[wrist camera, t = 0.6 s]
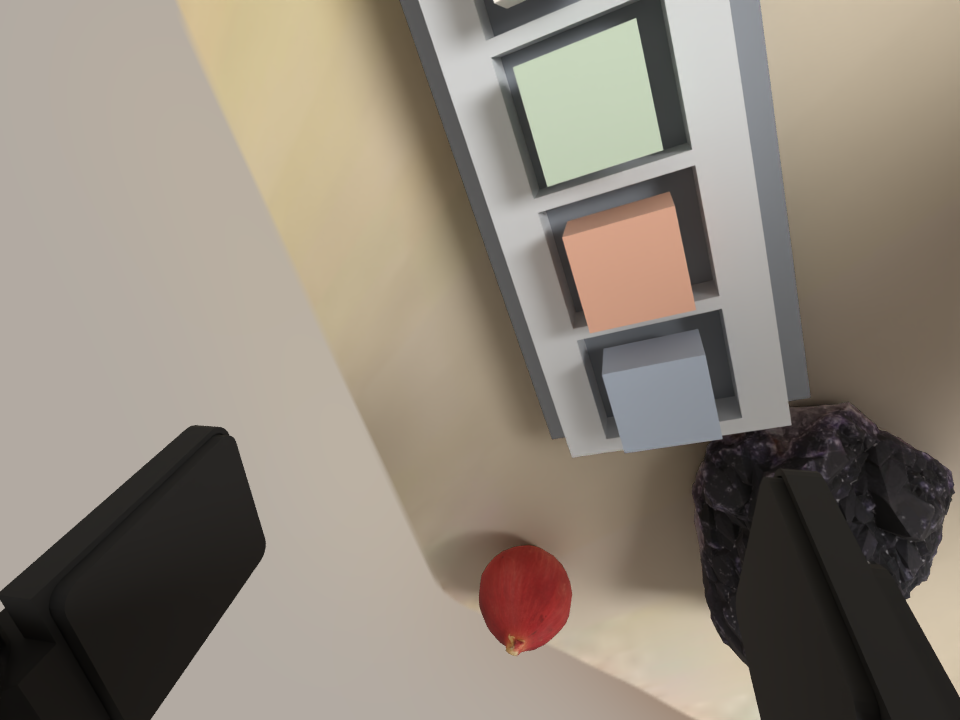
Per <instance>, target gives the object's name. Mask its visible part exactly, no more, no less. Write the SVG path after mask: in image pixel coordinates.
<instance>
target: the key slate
mask: <svg viewBox="0 0 960 720" xmlns="http://www.w3.org/2000/svg"><path fill="white" fill-rule="evenodd" d="M602 377H603V380H604V384H605V387H606V390H607V394H608V397H609V401H610V404H611V408H612V411H613V415H614V418H615V421H616V425H617V428H618V432H619V435H620V439H621V442H622V446H623V449H624V452H625V453H631V452H638V451H644V450H651V449H658V448H665V447H672V446H679V445H686V444H692V443H699V442H706V441H713V440H720V439H723V438H722V433H721V428H720V423H719V418H718V413H717V409H716V404H715V399H714V394H713V389H712V384H711V379H710V375H709V370H708V365H707V360H706V355H705V351H704V348H703V344H702V341H701V337H700V334H699V330H698V329H695V330H690V331H685V332H681V333H676V334H671V335H666V336H662V337H657V338H652V339H647V340H643V341H638V342H633V343H628V344H624V345H619V346H614V347H609V348H605V349H603V366H602Z"/></svg>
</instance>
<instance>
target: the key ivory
mask: <svg viewBox="0 0 960 720" xmlns="http://www.w3.org/2000/svg"><path fill="white" fill-rule="evenodd" d="M493 1H494V3H495V4H497V5H499V6H502V7H504V8H510V7H512V6H514V5H517V4H519V3H521V2H523V1H526V0H493Z"/></svg>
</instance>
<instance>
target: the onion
mask: <svg viewBox="0 0 960 720" xmlns="http://www.w3.org/2000/svg"><path fill="white" fill-rule="evenodd" d="M571 598H572V590H571V584H570V581H569V578H568V576H567V573H566V571H565V569H564V568H563V566H562V564H561V563H560V562H559V561H558V560H557V559H556V558H555V557H554V556H553V555H551V554H550V553H548V552H546V551H545V550H543V549H541V548H539V547H536V546H531V545H525V546H517V547H513V548H510V549H507V550H505V551H502V552H501V553H500V554H498V555H497V556H495V557H494V558H493V560H492V561H491V562H490V563H489V564H488V565H487V567H486V568H485V570H484V572H483V573H482V577H481V583H480V591H479V606H480V609H481V612H482V615H483V618H484V620H485V623H486V625H487V627H488V628H489V630H490V632H491V633H492V634H493V635H494V636H495V637H496V638H497V640H498V641H499V642H500V643H502V644H503V645H505V646H506V651H507V652H508V653H509V654H511V655H513V656H517V655H519V654H520V653H521V652H524V651H530V650H535V649H537V648H538V647H541V646H542V645H544V644H546V643H547V642H548V641H550V640H551V639H552V638H553V637H554V636H555V635H556V634H557V633H558V632H559V631H560V630H561V629H562V628H563V626H564V625H565V624H566V622H567V619H568V617H569V612H570V605H571Z"/></svg>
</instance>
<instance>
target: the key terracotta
mask: <svg viewBox="0 0 960 720" xmlns="http://www.w3.org/2000/svg"><path fill="white" fill-rule="evenodd" d="M562 239H563V242H564V246H565V249H566V253H567V256H568V260H569V263H570V266H571V270H572V273H573V277H574V280H575V284H576V287H577V291H578V294H579V297H580V301H581V304H582V308H583V311H584V315H585V318H586V322H587V325H588V328H589V332H590V333H595V332H599V331H604V330H608V329H613V328H617V327H622V326H626V325H631V324H635V323H640V322H644V321H649V320H653V319H658V318H662V317H667V316H671V315H676V314H681V313H685V312H690V311H694V310H696V307H695V302H694V297H693V292H692V287H691V282H690V277H689V272H688V268H687V263H686V258H685V253H684V248H683V243H682V238H681V234H680V229H679V224H678V219H677V214H676V209H675V205H674V202H673V199H672V197H671V194H670V191H669V192H666V193H662V194H659V195H656V196H652V197H649V198H645V199H642V200H639V201H635V202H632V203H628V204H625V205H621V206H618V207H615V208H611V209H608V210H604V211H601V212H598V213H594V214H591V215H587V216H584V217H581V218H577V219H574V220H570V221H567V224H566V227H565V230H564V233H563V237H562Z"/></svg>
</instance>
